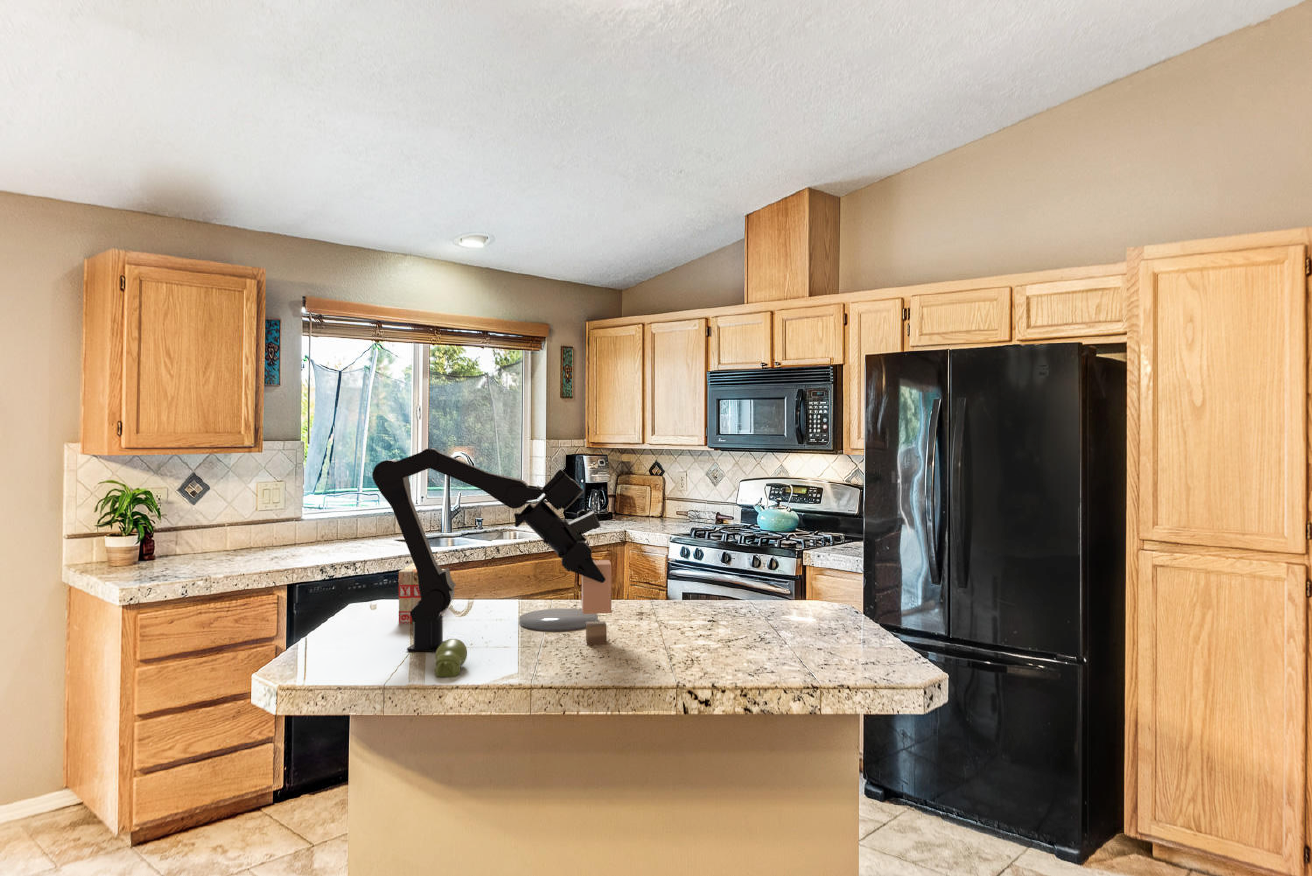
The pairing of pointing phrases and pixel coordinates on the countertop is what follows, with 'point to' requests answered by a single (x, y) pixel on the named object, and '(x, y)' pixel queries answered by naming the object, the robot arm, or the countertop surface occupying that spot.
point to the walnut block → (596, 633)
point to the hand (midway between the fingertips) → (602, 578)
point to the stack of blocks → (408, 592)
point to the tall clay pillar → (597, 591)
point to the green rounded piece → (450, 658)
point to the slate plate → (556, 619)
